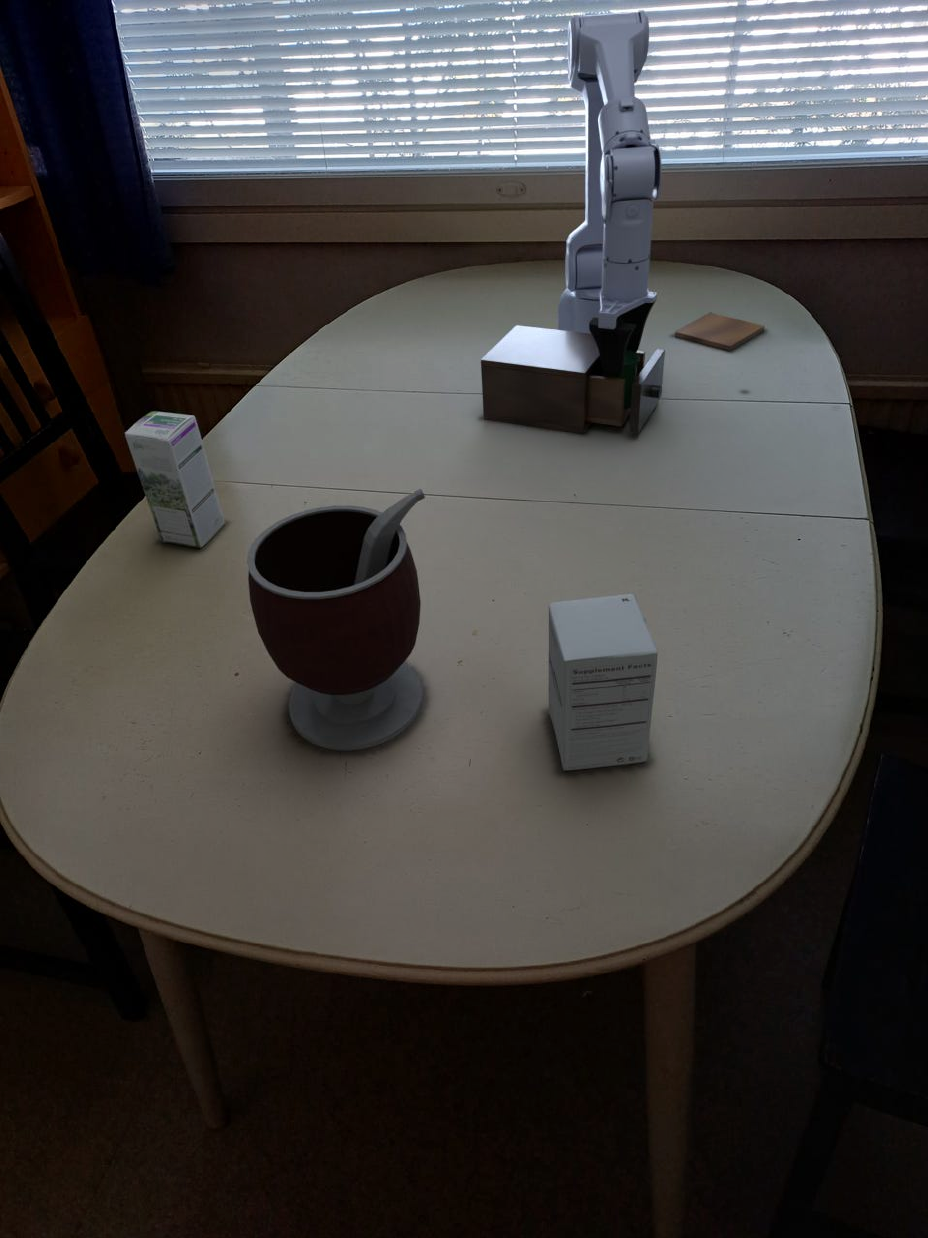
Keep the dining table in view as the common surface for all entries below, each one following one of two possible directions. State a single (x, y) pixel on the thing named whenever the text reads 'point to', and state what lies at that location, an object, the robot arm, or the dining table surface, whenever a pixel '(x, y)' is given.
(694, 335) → the board
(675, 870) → the dining table surface
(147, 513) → the dining table surface
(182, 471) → the syrup box
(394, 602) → the mate gourd
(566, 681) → the white packaging box
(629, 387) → the green pot
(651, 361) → the drawer
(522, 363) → the small wooden cabinet
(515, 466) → the dining table surface
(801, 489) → the dining table surface
